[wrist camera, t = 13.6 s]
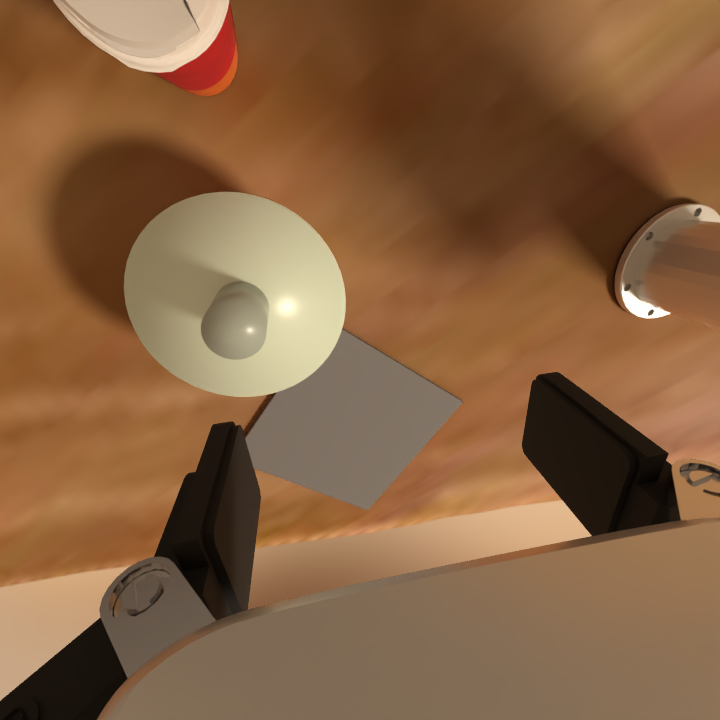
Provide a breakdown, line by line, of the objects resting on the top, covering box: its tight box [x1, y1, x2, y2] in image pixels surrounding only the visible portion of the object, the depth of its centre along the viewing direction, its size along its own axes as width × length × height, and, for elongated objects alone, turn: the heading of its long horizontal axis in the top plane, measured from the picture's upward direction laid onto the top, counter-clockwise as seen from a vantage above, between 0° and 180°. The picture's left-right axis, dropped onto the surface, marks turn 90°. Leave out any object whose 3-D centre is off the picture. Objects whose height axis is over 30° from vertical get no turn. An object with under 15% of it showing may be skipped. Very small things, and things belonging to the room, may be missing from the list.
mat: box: [245, 328, 462, 510], centre depth 43 cm, size 20×20×1 cm
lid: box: [124, 192, 346, 397], centre depth 26 cm, size 16×16×6 cm
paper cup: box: [53, 0, 238, 96], centre depth 20 cm, size 8×8×14 cm
